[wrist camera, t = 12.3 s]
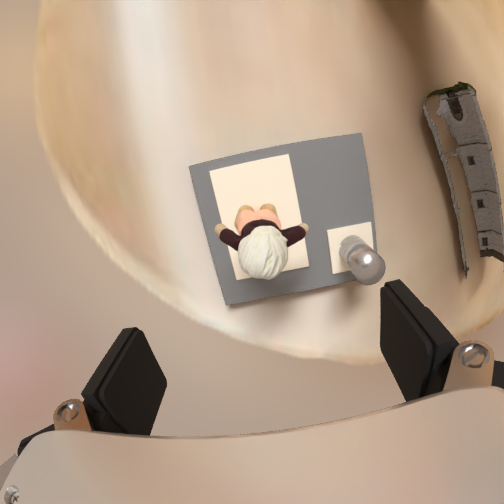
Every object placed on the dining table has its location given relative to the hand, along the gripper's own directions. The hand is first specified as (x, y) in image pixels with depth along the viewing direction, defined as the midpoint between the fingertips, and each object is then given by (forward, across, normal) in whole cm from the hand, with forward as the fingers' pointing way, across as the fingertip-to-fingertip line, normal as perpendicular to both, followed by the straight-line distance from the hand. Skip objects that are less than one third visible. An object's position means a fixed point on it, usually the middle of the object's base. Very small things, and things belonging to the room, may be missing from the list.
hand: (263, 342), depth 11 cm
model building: (+23, -26, +1) cm, 35 cm away
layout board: (+22, -3, +1) cm, 22 cm away
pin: (+20, -9, +5) cm, 23 cm away
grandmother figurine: (+21, 0, 0) cm, 21 cm away
